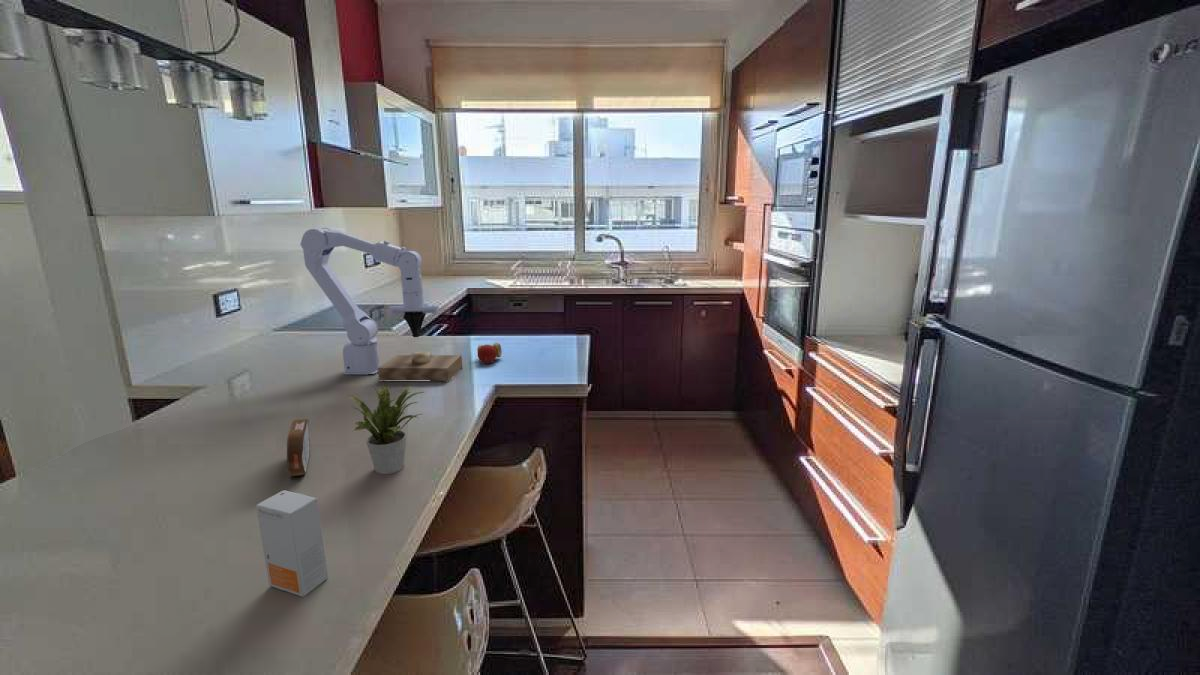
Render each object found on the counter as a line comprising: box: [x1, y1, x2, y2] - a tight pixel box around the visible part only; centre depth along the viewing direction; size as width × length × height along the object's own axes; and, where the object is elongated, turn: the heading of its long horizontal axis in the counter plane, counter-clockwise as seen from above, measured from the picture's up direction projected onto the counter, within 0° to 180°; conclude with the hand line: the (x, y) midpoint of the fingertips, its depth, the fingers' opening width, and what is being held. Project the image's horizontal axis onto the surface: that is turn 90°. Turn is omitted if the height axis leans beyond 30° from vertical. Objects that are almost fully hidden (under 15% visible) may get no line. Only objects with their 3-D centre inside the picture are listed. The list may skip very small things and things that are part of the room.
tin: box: [286, 418, 311, 478], centre depth 104 cm, size 15×3×8 cm, turn 23°
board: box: [377, 354, 463, 382], centre depth 161 cm, size 20×14×4 cm
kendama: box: [476, 342, 503, 364], centre depth 179 cm, size 8×6×18 cm
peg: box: [410, 350, 431, 364], centre depth 161 cm, size 5×5×6 cm
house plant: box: [346, 383, 425, 475], centre depth 101 cm, size 14×14×16 cm
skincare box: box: [255, 489, 329, 598], centre depth 70 cm, size 6×4×12 cm
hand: (416, 336), depth 165 cm, fingers closed
